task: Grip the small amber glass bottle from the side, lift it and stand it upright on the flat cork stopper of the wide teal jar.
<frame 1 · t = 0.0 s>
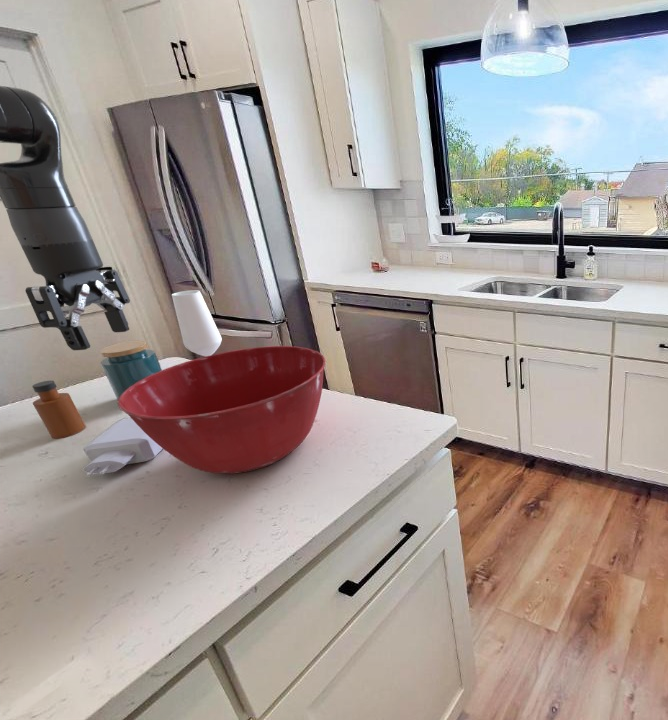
hand: (102, 340, 69), 21 cm above the worktop, tool pointing down, fingers open, 8 cm apart
charger: (130, 460, 74), on the worktop
amber bottle: (69, 431, 83), on the worktop
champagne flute: (222, 394, 97), on the worktop
teal jar: (145, 396, 96), on the worktop
mixing bowl: (258, 451, 76), on the worktop
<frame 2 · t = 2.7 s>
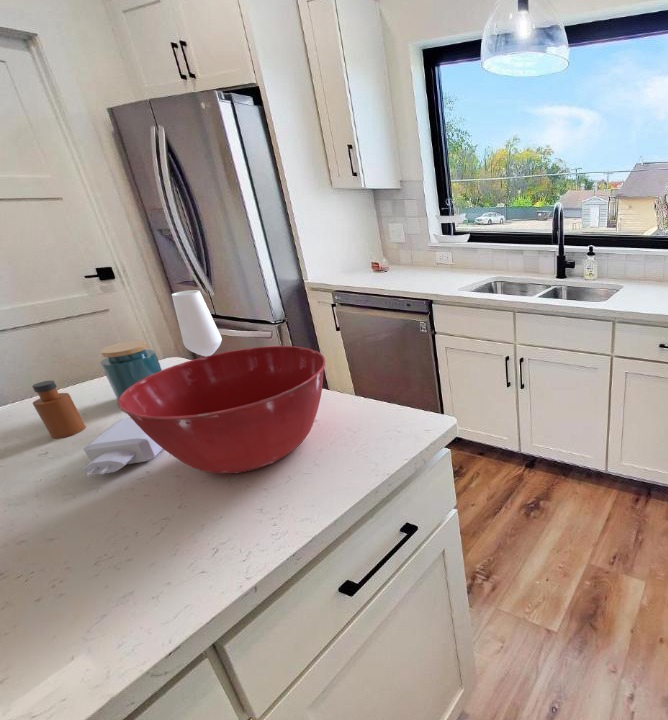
nothing on the worktop moved.
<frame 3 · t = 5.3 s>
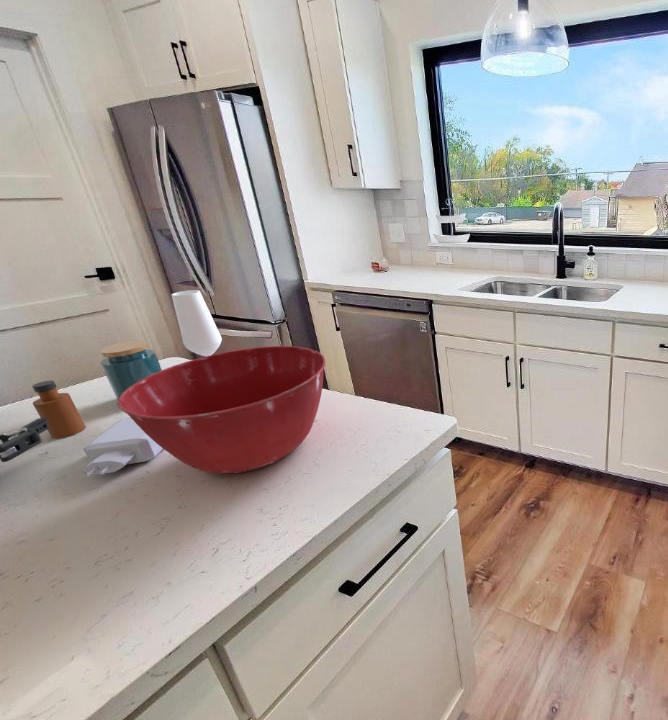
hand: (17, 424, 74), 6 cm above the worktop, tool horizontal, fingers open, 8 cm apart
nothing on the worktop moved.
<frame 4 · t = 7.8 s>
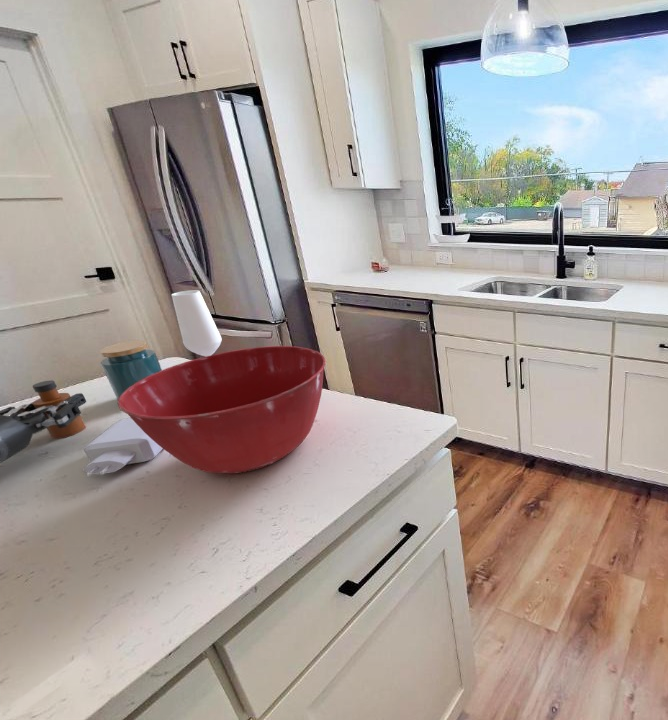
hand: (66, 398, 83), 6 cm above the worktop, tool horizontal, fingers closed on amber bottle, 4 cm apart
amber bottle: (69, 431, 83), on the worktop, touching gripper
everything else where it was.
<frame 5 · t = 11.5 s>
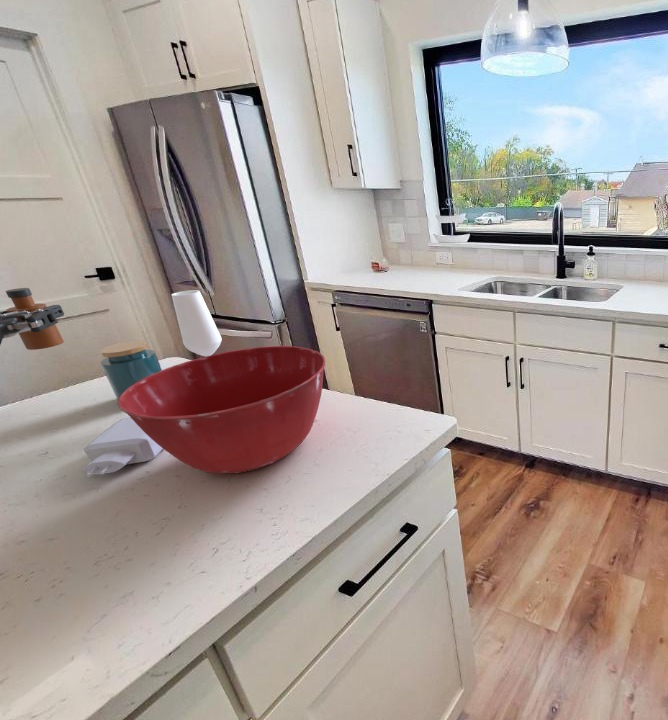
hand: (43, 310, 79), 23 cm above the worktop, tool horizontal, fingers closed on amber bottle, 4 cm apart
amber bottle: (45, 345, 79), point 17 cm above the worktop, touching gripper
everything else where it was.
when the fingers open (19 cm above the worktop, at t = 15.4 s): amber bottle stays where it is, resting on teal jar.
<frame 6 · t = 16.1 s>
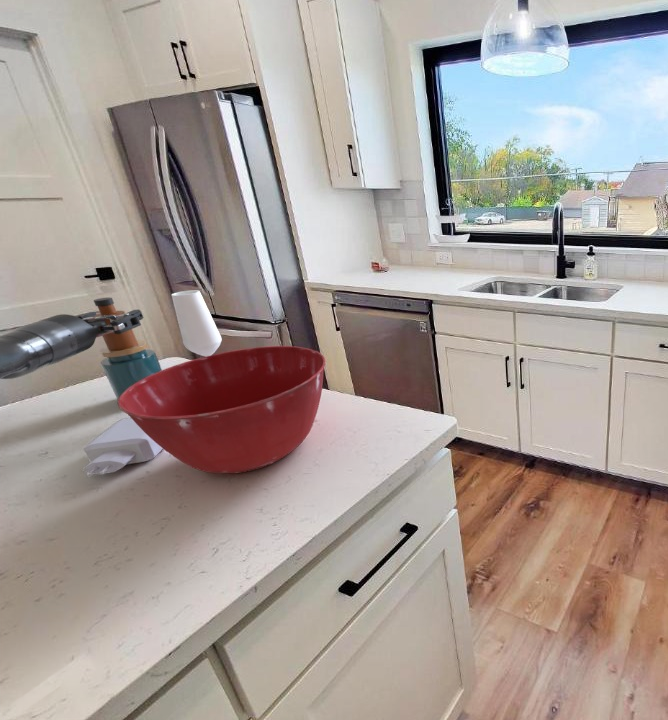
hand: (117, 315, 91), 19 cm above the worktop, tool horizontal, fingers open, 8 cm apart
amber bottle: (123, 346, 91), point 12 cm above the worktop, touching teal jar
teal jar: (145, 396, 96), on the worktop, touching amber bottle
everything else where it was.
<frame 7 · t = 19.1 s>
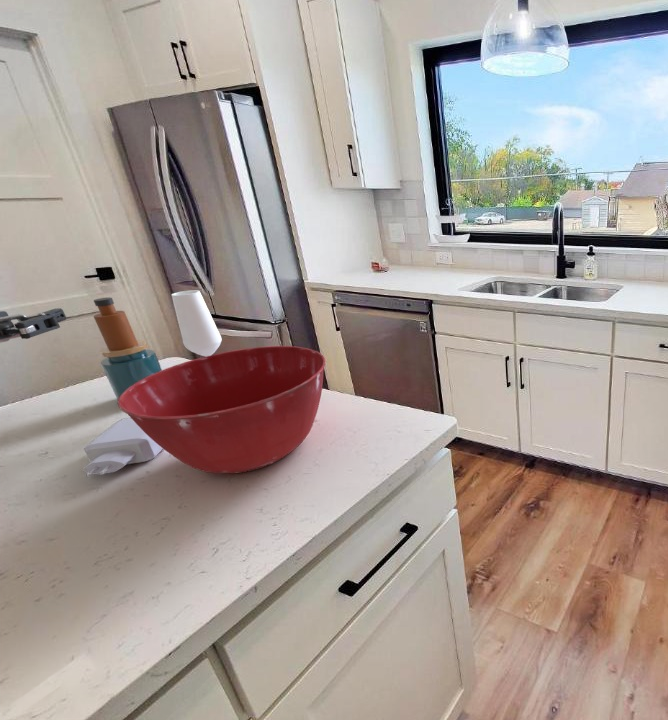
hand: (34, 315, 75), 24 cm above the worktop, tool horizontal, fingers open, 8 cm apart
nothing on the worktop moved.
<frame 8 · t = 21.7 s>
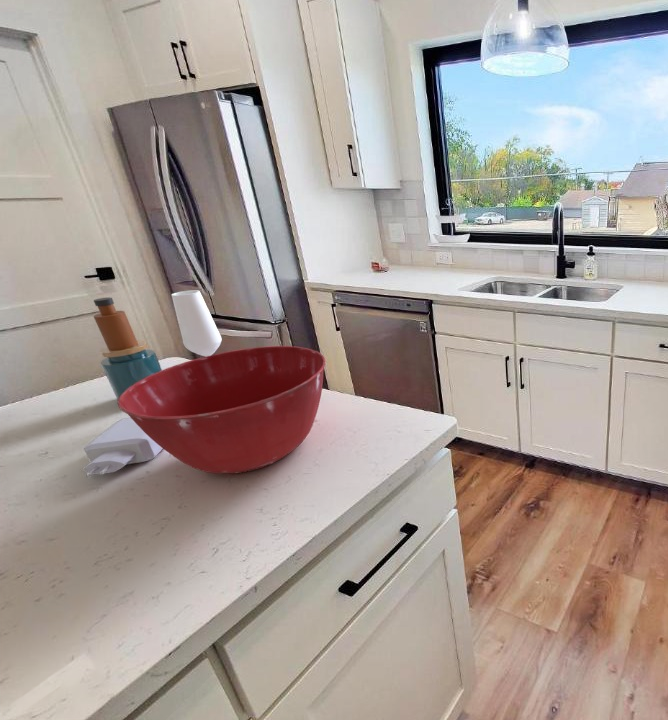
nothing on the worktop moved.
at the end: amber bottle 0.1 cm off-centre on the teal jar, point 12.5 cm above the teal jar's base; amber bottle tilted 0°; teal jar tilted 0° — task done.
